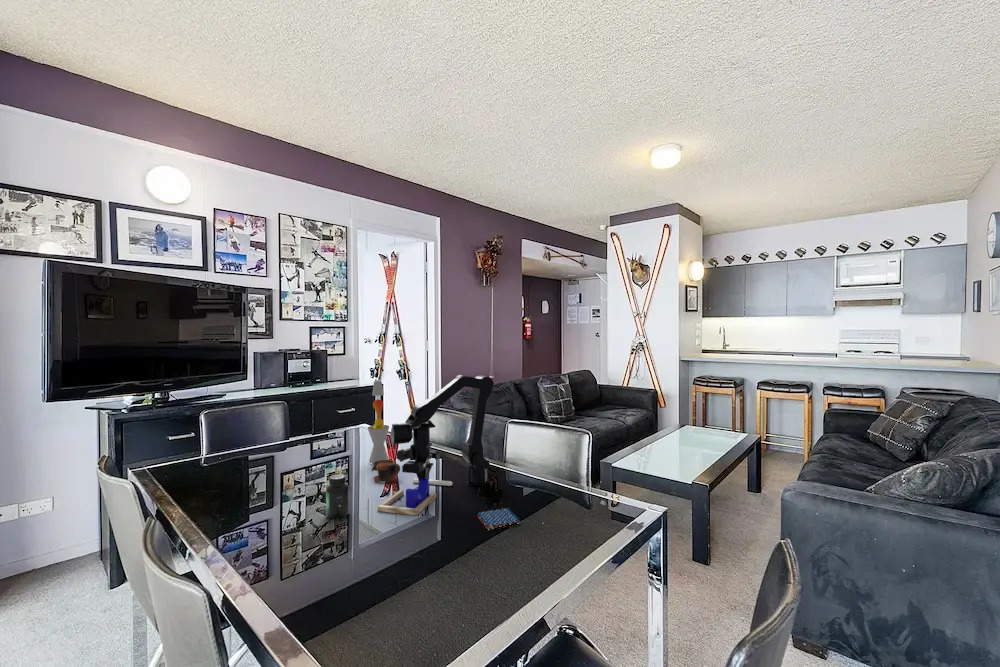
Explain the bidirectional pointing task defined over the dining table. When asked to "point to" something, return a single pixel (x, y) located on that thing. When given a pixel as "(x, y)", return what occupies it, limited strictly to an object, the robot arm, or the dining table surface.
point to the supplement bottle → (337, 497)
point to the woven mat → (497, 518)
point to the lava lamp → (378, 427)
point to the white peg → (435, 482)
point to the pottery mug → (385, 470)
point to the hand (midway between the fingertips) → (422, 485)
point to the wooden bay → (402, 510)
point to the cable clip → (417, 494)
